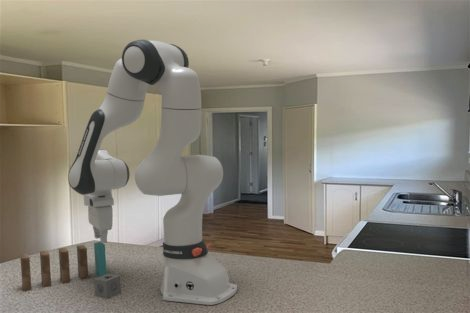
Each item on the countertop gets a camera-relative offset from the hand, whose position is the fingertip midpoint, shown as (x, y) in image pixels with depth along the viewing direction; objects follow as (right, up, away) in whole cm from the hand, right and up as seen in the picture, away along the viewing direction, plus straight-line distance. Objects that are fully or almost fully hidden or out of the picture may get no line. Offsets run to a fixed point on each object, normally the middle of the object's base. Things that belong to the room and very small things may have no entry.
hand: (100, 240), depth 135 cm
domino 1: (-19, -13, -10) cm, 25 cm away
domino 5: (0, -11, +1) cm, 11 cm away
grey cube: (+8, -12, -17) cm, 23 cm away
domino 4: (-5, -12, -2) cm, 13 cm away
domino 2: (-14, -12, -8) cm, 20 cm away
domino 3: (-10, -12, -5) cm, 16 cm away
